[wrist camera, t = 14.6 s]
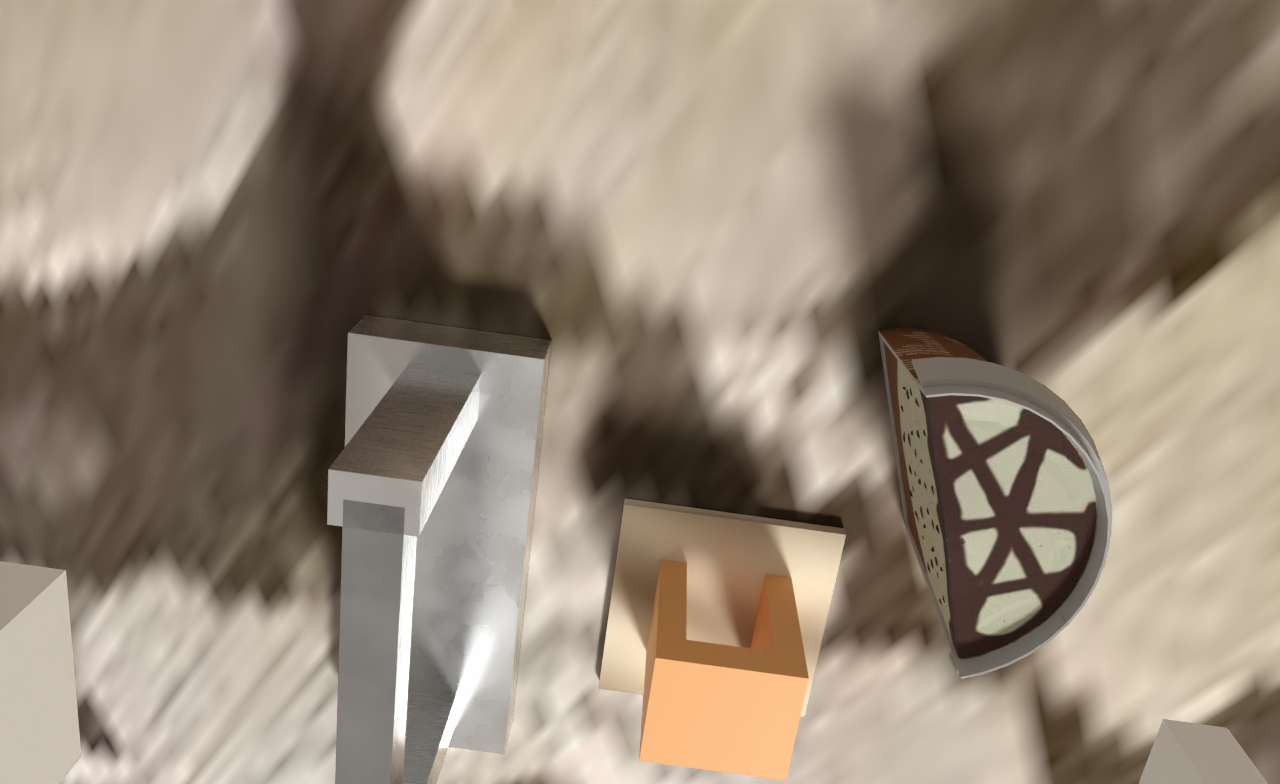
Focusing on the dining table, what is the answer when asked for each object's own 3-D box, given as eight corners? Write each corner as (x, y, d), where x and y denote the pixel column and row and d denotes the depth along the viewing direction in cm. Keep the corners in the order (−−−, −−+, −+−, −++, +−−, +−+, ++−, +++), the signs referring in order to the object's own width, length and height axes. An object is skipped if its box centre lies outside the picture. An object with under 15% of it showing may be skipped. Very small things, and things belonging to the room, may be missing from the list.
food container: (1046, 531, 47) (1136, 666, 37) (908, 553, 47) (962, 691, 38) (1024, 268, 42) (1119, 346, 33) (873, 296, 43) (924, 380, 34)
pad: (624, 498, 47) (623, 504, 46) (844, 528, 47) (845, 534, 46) (599, 680, 50) (598, 688, 50) (803, 708, 50) (804, 716, 50)
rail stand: (365, 315, 44) (249, 429, 33) (551, 340, 44) (502, 464, 33) (352, 698, 51) (254, 904, 40) (512, 719, 52) (460, 932, 40)
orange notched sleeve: (660, 559, 47) (655, 657, 40) (791, 577, 47) (809, 678, 40) (646, 650, 49) (639, 760, 42) (772, 667, 49) (785, 780, 42)
